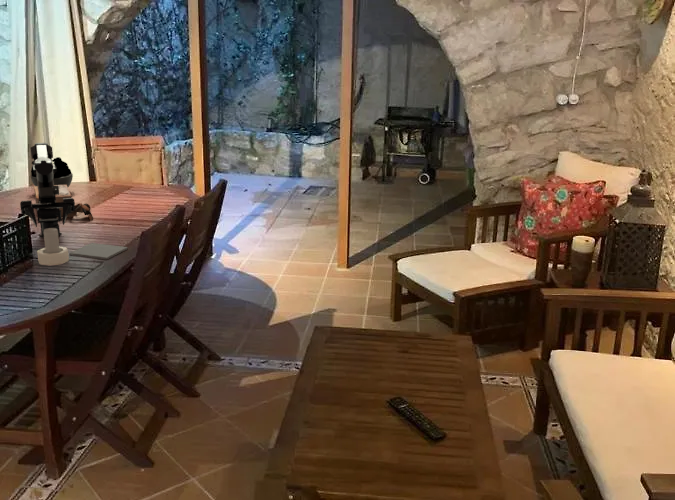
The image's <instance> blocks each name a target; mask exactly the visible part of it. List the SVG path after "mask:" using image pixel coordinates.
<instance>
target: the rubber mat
mask: <svg viewBox="0 0 675 500" xmlns="http://www.w3.org/2000/svg"><path fill="white" fill-rule="evenodd" d="M127 250H128V246H122V245H120V246H119V245H113V244H104V243H95V242H91V243H88V244H87V245H83V246H82V247H80V248H77V249H75V250H73V251H70V252H69V256H76V257H83V258H84V257H85V258H91V259H99V260H109V259H111V258H113V257H115V256H116V255H119V254H120V253H123V252H125V251H127Z"/></svg>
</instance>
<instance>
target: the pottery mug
mask: <svg viewBox="0 0 675 500" xmlns="http://www.w3.org/2000/svg"><path fill="white" fill-rule="evenodd" d="M78 213H79V214H81V213H83V215H84V216H87V218H88V219H89V221H93V218H94V216H93V214H92V211H91V206H90V204H89V203H82V202H80V203H76V204H75V211H72V212H71V213H69V217H68V218H71V220H73V219H74V217H78Z"/></svg>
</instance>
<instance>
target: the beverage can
mask: <svg viewBox="0 0 675 500" xmlns="http://www.w3.org/2000/svg"><path fill="white" fill-rule="evenodd" d="M43 239H44V246H45V247H44V248H45V250H46V253H48V254H52V253H59V252H60V248H59V247H60V239H59V235H58V230H57V229H56V228H47V229H44V237H43Z"/></svg>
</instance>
